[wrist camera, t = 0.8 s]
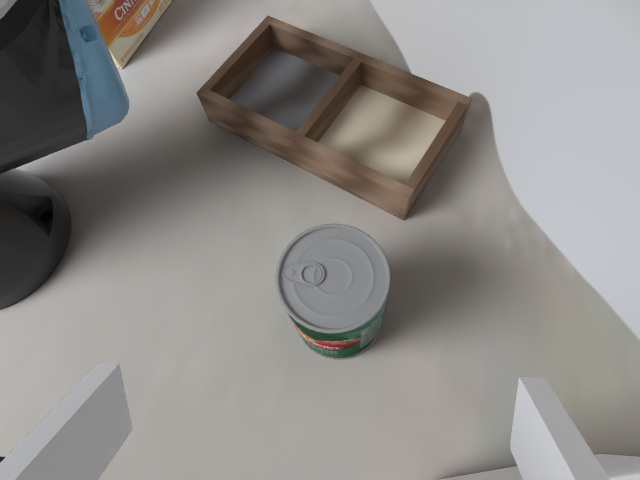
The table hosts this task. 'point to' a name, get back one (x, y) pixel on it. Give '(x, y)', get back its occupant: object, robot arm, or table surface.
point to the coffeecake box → (126, 24)
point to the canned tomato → (334, 289)
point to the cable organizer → (623, 471)
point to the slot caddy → (336, 113)
